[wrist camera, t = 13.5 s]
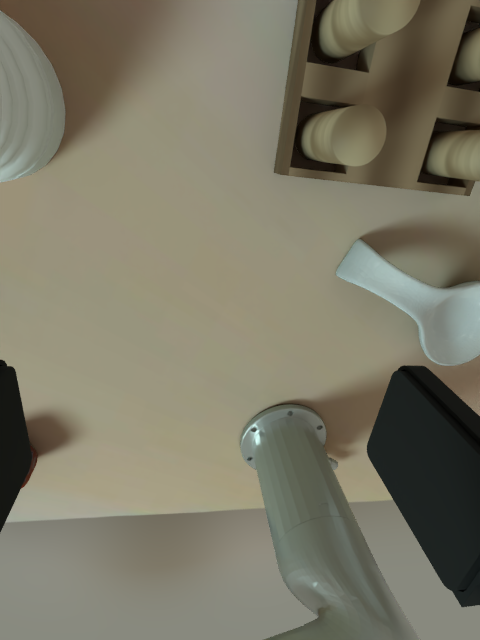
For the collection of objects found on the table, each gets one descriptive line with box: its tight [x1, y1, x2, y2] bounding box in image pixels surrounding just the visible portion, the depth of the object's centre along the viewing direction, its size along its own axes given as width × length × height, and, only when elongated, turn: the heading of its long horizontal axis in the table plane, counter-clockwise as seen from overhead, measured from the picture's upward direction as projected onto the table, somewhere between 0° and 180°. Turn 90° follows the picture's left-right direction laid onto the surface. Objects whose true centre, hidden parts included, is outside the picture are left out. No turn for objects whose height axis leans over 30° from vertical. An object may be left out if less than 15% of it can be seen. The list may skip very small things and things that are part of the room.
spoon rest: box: [336, 239, 480, 366], centre depth 41 cm, size 24×12×7 cm, turn 62°
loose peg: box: [295, 104, 386, 166], centre depth 30 cm, size 4×4×10 cm
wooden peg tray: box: [274, 0, 480, 196], centre depth 29 cm, size 20×15×10 cm
